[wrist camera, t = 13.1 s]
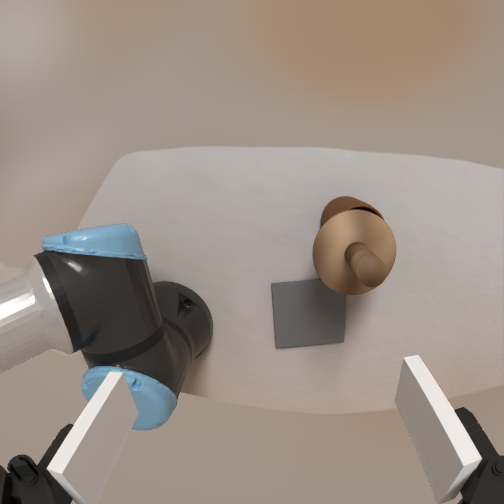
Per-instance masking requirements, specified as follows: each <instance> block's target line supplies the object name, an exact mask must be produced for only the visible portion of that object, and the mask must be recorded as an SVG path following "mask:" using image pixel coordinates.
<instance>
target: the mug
mask: <svg viewBox="0 0 504 504" xmlns="http://www.w3.org/2000/svg"><path fill="white" fill-rule="evenodd" d="M353 209H360V210H365V211H368V212H371V213H373V214H375V215H377V216H379V217H380V218H381V219H383V217H382V215H381V214H380V213H379V212H378V211H377V210H376V209H375V208H373V207H372V206H371V205H369V204H367V203H365V202H362V201H360V200H358V199H355V198H352V197H347V196H344V197H338V198H336V199H334V200H332V201H331V202H329V203H328V204H327V206H326V207H325V209H324V211H323V213H322V217H321V226H323V225H324V224H325V223H326V222H327V221H328V220H329V219H330V218H331V217H333V216H334V215H336V214H338V213H340V212H343V211H347V210H353ZM383 220H384V219H383Z"/></svg>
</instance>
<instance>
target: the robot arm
mask: <svg viewBox="0 0 504 504" xmlns="http://www.w3.org/2000/svg"><path fill="white" fill-rule="evenodd" d="M42 243H43V245H42V249H43V250H44V251H43V252H42V253H39V254H36V255H34V256H32V257H30V258H29V261H28V263H27V266H26V268H25V270H24V273H23V274H22V275H21V276H19V277H16V278H14V279H12V280H9V281H7V282H5V283H2V284H0V374H1V373H3V372H5V371H6V370H9V369H11V368H13V367H15V366H17V365H19V364H21V363H23V362H25V361H27V360H29V359H31V358H33V357H35V356H37V355H39V354H41V353H43V352H45V351H47V350H49V349H57V350H60V351H62V352H65V353H67V354H72V353H74V352H76V351H78V350H80V349H81V351H82V354H83V356H84V358H85V360H86V362H87V365H88V367H89V369H88V370H87V371H86V372H85V374H84V375H83V381H82V385H81V386H82V392H83V395H84V397H85V399H86V400H87V402H88V405H87V406H86V408H85V409H84V411H83V412H82V414H81V415H80V417H79V418H78V420H77V421H76V423H75V424H74V425H72V424H68V425H67V426H66V427H64V428H63V429H61V430H60V432H59V433H58V435H57V436H56V439H55V440H54V441H53V442H52V445H51V446H50V447H49V448H48V450H47V451H46V453H45V454H44V456H43V458H42V459H41V461H40V462H39V464H38V465H36V464H35V463H34V461H33V460H32V459H31V458H30V457H29V456H27V455H18V456H15V457H13V458H12V459H11V460H10V462H9V463H8V467H7V469H8V470H9V472H10V473H7V471H6V470H5V469H4V468H3V467H2V466H1V465H0V504H71V501H72V500H74V501H75V502H76V503H77V504H97V503H98V500H99V498H100V496H101V494H102V491H103V489H104V487H105V485H106V483H107V480H108V478H109V476H110V474H111V471H112V469H113V467H114V465H115V463H116V460H117V458H118V456H119V454H120V452H121V450H122V448H123V445H124V443H125V441H126V439H127V437H128V435H129V433H130V430H131V429H135V430H152V429H155V428H158V427H160V426H162V425H163V424H164V423H166V421H168V419H169V418H170V416H171V414H172V412H173V410H174V409H175V407H176V405H177V399H178V396H179V393H180V390H181V388H182V385H183V382H184V379H185V376H186V374H187V371H188V368H189V365H190V363H191V362H192V361H193V360H194V359H195V358H197V357H198V356H200V355H201V354H202V353H203V352H204V350H205V349H206V347H207V346H208V344H209V341H210V338H211V335H212V330H213V322H212V317H211V313H210V311H209V309H208V307H207V305H206V304H205V302H204V301H203V300H202V299H201V298H200V297H199V296H198V295H197V294H196V293H195V292H194V291H192V290H191V289H189V288H187V287H185V286H183V285H181V284H178V283H174V282H156V283H152V279H151V276H150V272H149V268H148V265H147V261H146V260H147V256H146V255H145V254H144V252H143V249H142V246H141V242H140V239H139V236H138V233H137V231H136V230H135V229H134V228H133V227H132V226H130V225H128V224H113V225H105V226H98V227H92V228H86V229H80V230H75V231H70V232H65V233H60V234H56V235H52V236H47V237H45V238H44V239H43V241H42ZM395 403H396V405H397V407H398V409H399V412H400V414H401V416H402V418H403V420H404V423H405V425H406V427H407V430H408V432H409V434H410V437H411V439H412V441H413V444H414V446H415V448H416V451H417V453H418V456H419V458H420V461H421V463H422V466H423V468H424V471H425V473H426V476H427V478H428V481H429V483H430V486H431V489H432V491H433V494H434V497H435V499H436V502H437V504H441V503H444V502H447V501H450V500H452V499H454V498H455V497H456V496H457V495H458V493H459V492H461V494H462V497H463V498H462V499H461V500H460V502H459V503H458V504H504V456H499V454H498V453H497V452H496V450H495V448H494V447H493V445H492V444H491V442H490V440H489V439H488V437H487V435H486V434H485V432H484V431H483V430H482V427H481V426H480V424H478V421H477V420H476V418H475V417H474V415H473V414H472V413H471V412H470V411H468V410H467V409H466V408H464V407H462V408H459V409H456V410H453V408H452V407H451V405H450V403H449V402H448V401H447V399H446V397H445V395H444V394H443V392H442V391H441V389H440V388H439V386H438V384H437V383H436V381H435V380H434V378H433V377H432V375H431V374H430V372H429V371H428V369H427V368H426V366H425V365H424V363H423V362H422V360H421V359H420V357H419V356H418V355H415V356H410V357H405V358H403V363H402V369H401V374H400V379H399V384H398V389H397V393H396V398H395Z"/></svg>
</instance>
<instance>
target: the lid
mask: <svg viewBox="0 0 504 504" xmlns="http://www.w3.org/2000/svg"><path fill="white" fill-rule="evenodd" d="M395 257H396V242H395V238H394V235H393V233H392V230H391V229H390V227H389V226H388V225H387V223H386V222H385V221H384V220H383V219H381V218H380V217H379V216H377V215H375V214H373V213H371V212H368V211H365V210H360V209H353V210H347V211H343V212H340V213H338V214H336V215H334V216H333V217H331V218H330V219H329V220H328V221H327V222H326V223H325V224H324V225H323V226H322V227H321V229H320V230H319V232H318V234H317V236H316V238H315V241H314V245H313V262H314V266H315V269H316V271H317V274H318V275H319V277H320V279H321V280H322V281H323V283H324V284H325V285H326V286H328V287H329V288H330V289H332V290H334V291H336V292H338V293H342V294H347V295H357V294H362V293H366V292H368V291H370V290H372V289H374V288H376V287H377V286H378V285H380V284H381V283H382V282H383V281H384V280H385V278H386V277H387V276H388V274H389V273H390V271H391V269H392V267H393V264H394V261H395Z"/></svg>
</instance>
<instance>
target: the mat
mask: <svg viewBox="0 0 504 504" xmlns="http://www.w3.org/2000/svg"><path fill="white" fill-rule="evenodd" d="M271 285H272V298H273V311H274V325H275V338H276V348H282V347H295V346H307V345H318V344H328V343H337V342H344V330H345V297H346V294H342V293H338V292H336V291H334V290H332V289H330V288H329V287H328V286H326V285H325V284H324V283H323V281H322V280H321V279H318V280H306V281H294V282H281V283H271Z"/></svg>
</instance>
